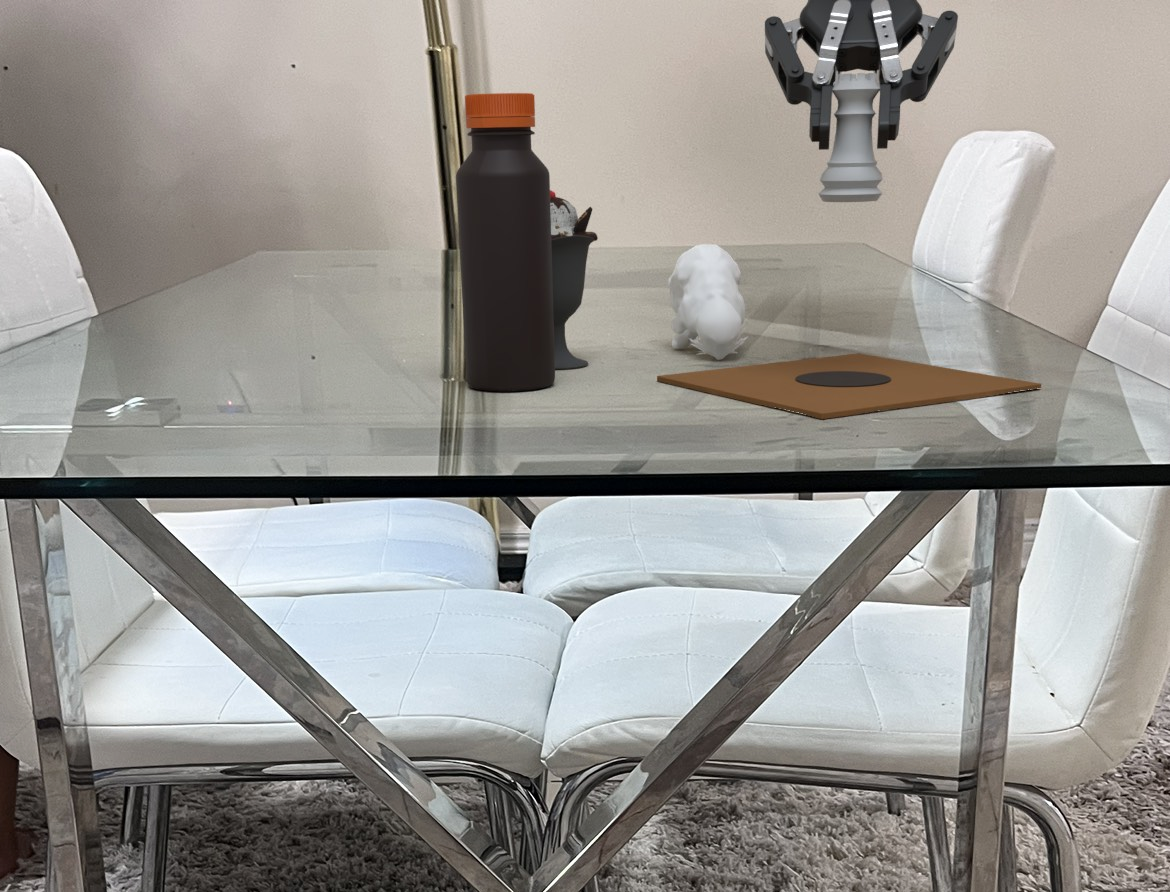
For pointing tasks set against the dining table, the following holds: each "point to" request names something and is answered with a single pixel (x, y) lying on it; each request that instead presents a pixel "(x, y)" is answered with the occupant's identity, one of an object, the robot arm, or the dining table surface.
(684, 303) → the white animal figurine
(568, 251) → the sundae
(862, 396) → the centre mat
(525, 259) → the bottle
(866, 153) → the rook chess piece
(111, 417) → the dining table surface
